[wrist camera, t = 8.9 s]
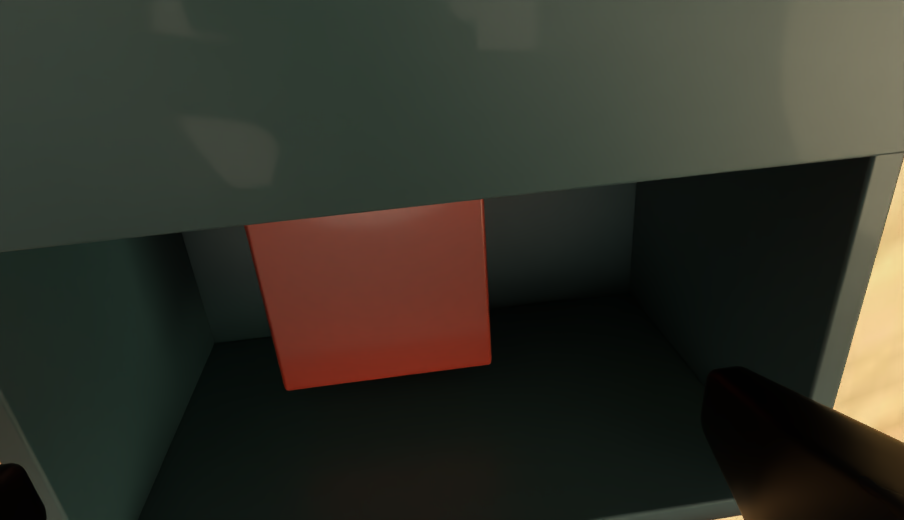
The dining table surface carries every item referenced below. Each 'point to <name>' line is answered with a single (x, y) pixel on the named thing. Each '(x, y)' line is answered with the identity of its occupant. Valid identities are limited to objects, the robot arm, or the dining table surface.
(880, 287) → the dining table surface
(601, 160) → the carton
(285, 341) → the block
